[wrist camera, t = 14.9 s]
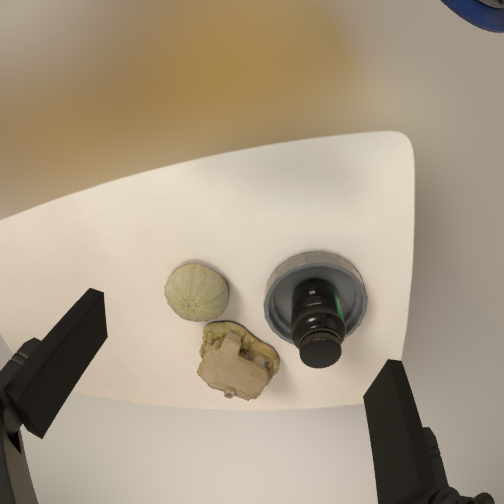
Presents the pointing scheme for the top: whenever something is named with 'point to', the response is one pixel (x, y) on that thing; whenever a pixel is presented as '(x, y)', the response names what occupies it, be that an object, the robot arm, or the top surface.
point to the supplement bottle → (317, 322)
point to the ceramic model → (236, 361)
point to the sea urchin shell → (196, 293)
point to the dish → (308, 268)
